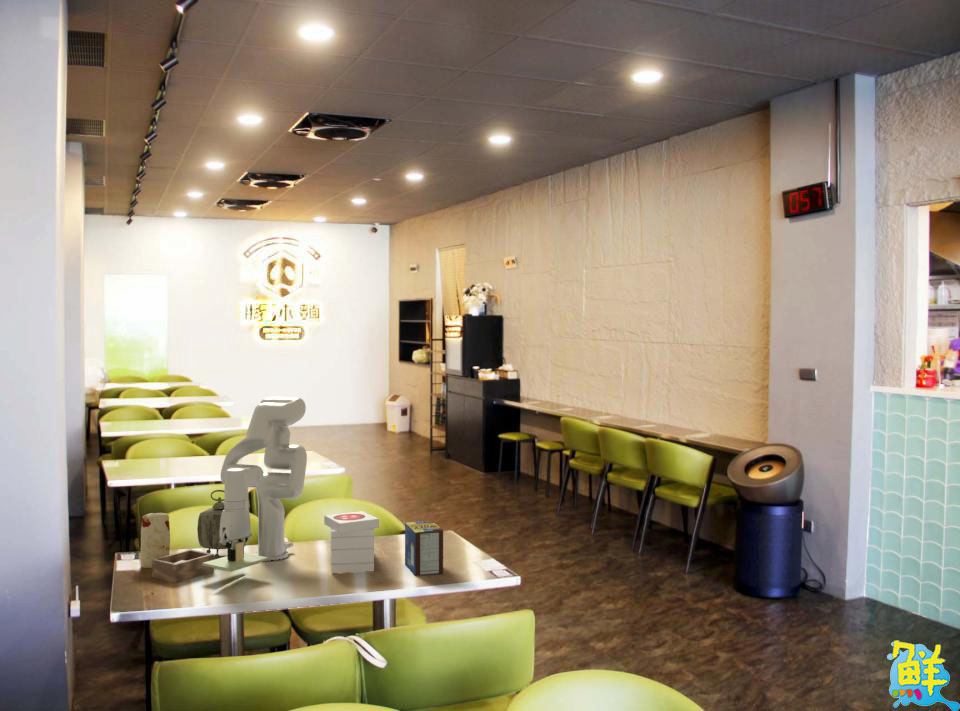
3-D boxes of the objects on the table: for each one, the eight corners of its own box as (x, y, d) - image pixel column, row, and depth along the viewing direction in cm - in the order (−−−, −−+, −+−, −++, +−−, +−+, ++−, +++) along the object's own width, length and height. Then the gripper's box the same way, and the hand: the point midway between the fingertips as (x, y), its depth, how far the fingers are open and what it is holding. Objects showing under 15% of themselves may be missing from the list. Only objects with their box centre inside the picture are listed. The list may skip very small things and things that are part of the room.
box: (190, 568, 292) (190, 549, 292) (213, 574, 286) (213, 554, 286) (151, 580, 278) (151, 559, 278) (175, 586, 272) (175, 564, 272)
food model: (139, 572, 288) (139, 515, 287) (141, 566, 294) (141, 511, 293) (169, 570, 290) (169, 513, 290) (171, 565, 297) (171, 509, 296)
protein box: (432, 562, 303) (432, 520, 303) (443, 573, 289) (443, 529, 289) (404, 564, 300) (404, 522, 300) (414, 576, 286) (414, 531, 285)
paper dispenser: (374, 551, 318) (374, 504, 318) (379, 573, 289) (380, 522, 288) (324, 553, 315) (324, 506, 314) (324, 575, 285) (324, 523, 285)
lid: (241, 557, 289) (241, 535, 289) (268, 562, 282) (268, 540, 282) (202, 568, 274) (202, 544, 274) (229, 574, 268) (229, 550, 267)
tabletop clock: (242, 554, 312) (242, 488, 312) (232, 560, 303) (232, 492, 303) (205, 552, 314) (205, 487, 313) (195, 559, 305) (195, 491, 304)
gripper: (246, 500, 287) (246, 552, 287) (209, 507, 273) (208, 563, 273) (262, 502, 283) (261, 555, 283) (224, 510, 269) (224, 566, 269)
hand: (235, 558), depth 278 cm, fingers closed on lid, 3 cm apart
